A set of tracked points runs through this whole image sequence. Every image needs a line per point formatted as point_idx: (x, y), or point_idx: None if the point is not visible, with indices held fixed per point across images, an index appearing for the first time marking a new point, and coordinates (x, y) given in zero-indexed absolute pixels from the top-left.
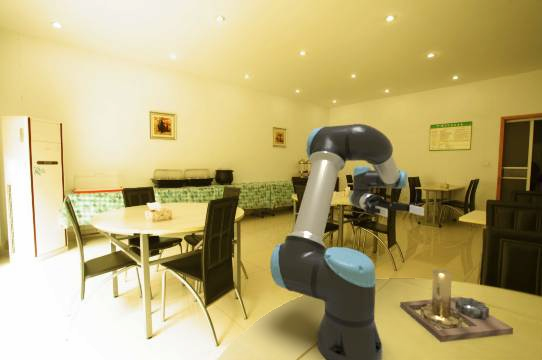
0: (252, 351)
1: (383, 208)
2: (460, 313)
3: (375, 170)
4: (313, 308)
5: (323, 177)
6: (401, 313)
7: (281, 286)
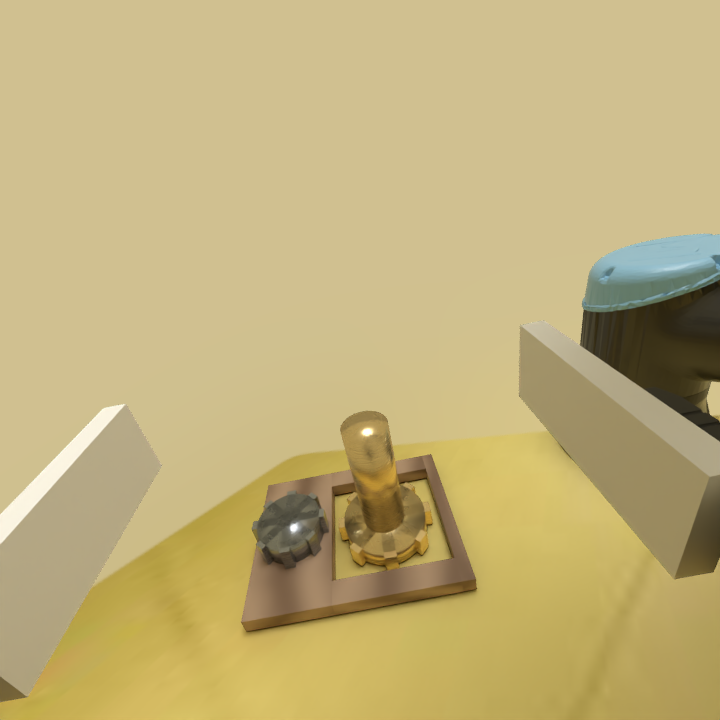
0: None
1: (567, 341)
2: (328, 526)
3: None
4: None
5: None
6: (482, 556)
7: None
